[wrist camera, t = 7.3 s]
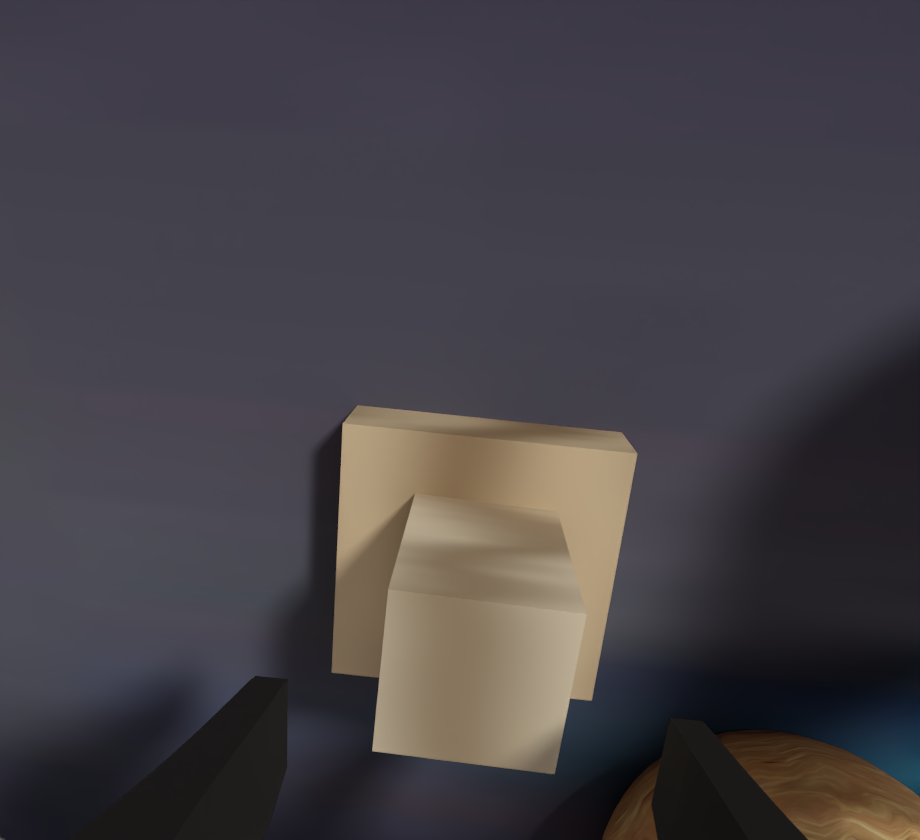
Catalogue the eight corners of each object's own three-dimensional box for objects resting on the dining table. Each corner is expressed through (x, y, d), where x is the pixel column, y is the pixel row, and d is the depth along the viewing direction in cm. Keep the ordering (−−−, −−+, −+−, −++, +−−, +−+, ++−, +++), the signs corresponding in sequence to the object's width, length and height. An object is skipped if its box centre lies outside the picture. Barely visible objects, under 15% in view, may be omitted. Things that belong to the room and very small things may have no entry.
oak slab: (618, 427, 19) (637, 453, 16) (579, 648, 21) (591, 700, 19) (360, 400, 19) (342, 423, 17) (349, 624, 21) (331, 672, 19)
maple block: (557, 511, 17) (586, 614, 12) (535, 634, 18) (554, 774, 13) (415, 493, 17) (388, 589, 12) (401, 617, 18) (371, 750, 13)
